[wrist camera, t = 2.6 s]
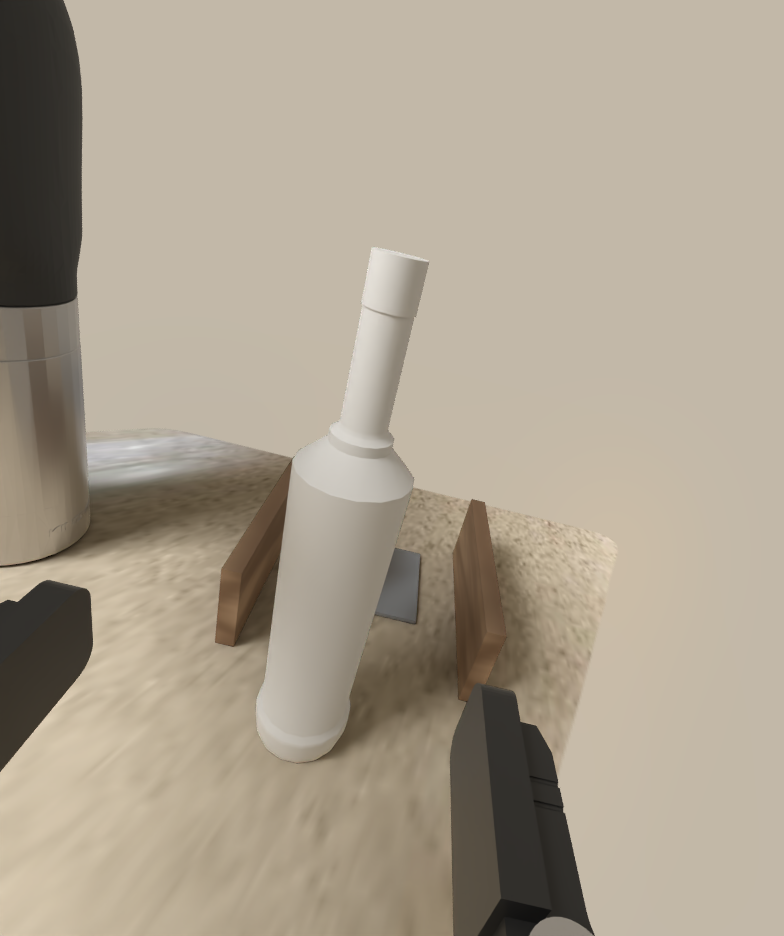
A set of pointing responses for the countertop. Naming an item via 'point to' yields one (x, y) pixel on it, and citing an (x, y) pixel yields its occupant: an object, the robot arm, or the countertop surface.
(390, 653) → the countertop surface
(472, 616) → the arena
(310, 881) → the countertop surface
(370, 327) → the bottle
